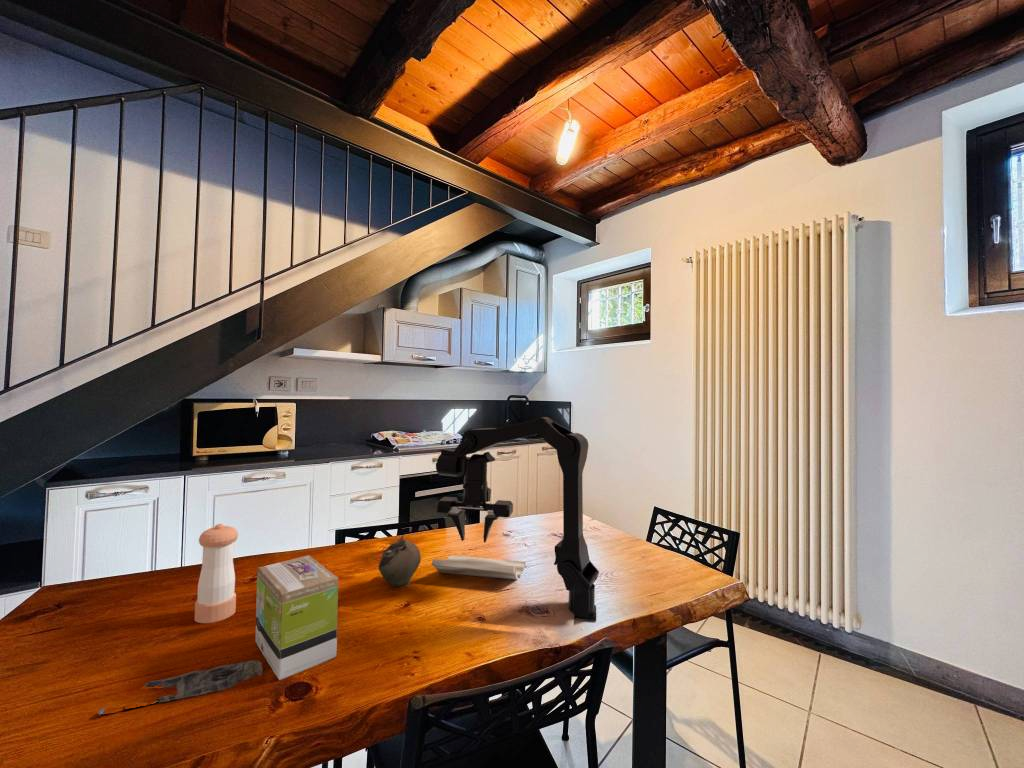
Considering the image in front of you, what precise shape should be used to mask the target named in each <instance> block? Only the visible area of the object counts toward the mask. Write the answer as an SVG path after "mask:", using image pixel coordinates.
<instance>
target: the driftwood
mask: <svg viewBox="0 0 1024 768" xmlns="http://www.w3.org/2000/svg"><path fill="white" fill-rule="evenodd" d="M263 673H264V668H263V664H262V662H261V661H259V660H252V659H251V660H248V661H243V662H238V663H231V664H224V665H220V666H216V667H213V668H212V669H203V670H192V671H190V672H187V673H186V672H185V673H182V674H181V675H177V676H173V677H168V678H163V679H157V680H151V681H149V682H147V683H145V684H146V685H145V687H154V686H159V687H161V686H162V687H164V688H163V689H168V688H172V687H173V688H174V687H175V690H176V689H177V693H176V695H169V694H168V695H163V696H161V697H158V698H156V699H155V700H154V701H158V702H159V703H158V704H160V703H164V702H170V701H174V700H175V701H176V700H181V699H185V698H191V697H196V696H200V695H206V694H210V693H214V692H221V691H224V690H228V689H230V688H233V687H236V686H237V685H238V683H241V682H244V681H246V680H247V681H248V680H250V679H251V678H252V677H256V676H263V675H264V674H263ZM165 687H166V688H165ZM143 703H145V702H143ZM126 708H127V707H126ZM105 709H107V708H106V707H105V708H104V707H103V708H101V709H99V710H98V712H97V714H98V715H99V716H102V715H101V714H103V712H104V710H105Z"/></svg>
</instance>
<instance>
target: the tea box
mask: <svg viewBox="0 0 1024 768" xmlns="http://www.w3.org/2000/svg"><path fill="white" fill-rule="evenodd" d="M256 571H257V572H256V596H255V597H256V600H255V601H256V607H255V608H256V610H255V643H256V644H257V647H258V649H259V650H260V651H261V654H262V655H263V657H264V658H265V660H266V662H267V663H268V665H269V667H270V668H271V669H272V671H273V673H274V675H275V676H276V678H277V679H278V681H282V680H284V679H286V678H289V677H291V676H294V675H296V674H298V673H301V672H304V671H307V670H308V669H311V668H313V667H316V666H318V665H320V664H323V663H326V662H327V661H330V660H332V659H334V658H336V657H337V647H338V610H339V609H338V607H339V606H338V604H339V598H338V597H339V577H338V576H337V575H335V574H333V573H332V572H331V571H330V570H328V569H327V568H326V567H325V566H323V564H321V563H320V562H318V561H317V560H316V559H315V558H313V557H312V556H311V555H309V554H307V555H304V556H299V557H295V558H291V559H288V560H283V561H279V562H276V563H271V564H269V565H264V566H263V565H262V566H258V567H257V570H256Z"/></svg>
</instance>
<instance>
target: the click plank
mask: <svg viewBox="0 0 1024 768" xmlns="http://www.w3.org/2000/svg"><path fill="white" fill-rule="evenodd" d="M431 566H432V567H433V568H435V569H436V571H438V572H439V573H444V574H452V575H463V576H464V575H465V576H472V577H473V576H474V577H476V576H477V577H483V578H486V577H487V578H493V579H505V580H516V581H518V578H519V577H518V573H517V571H516V569H515V567H514V566H506V565H495V564H484V563H473V562H462V561H451V560H447V559H438V558H432V562H431Z"/></svg>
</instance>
